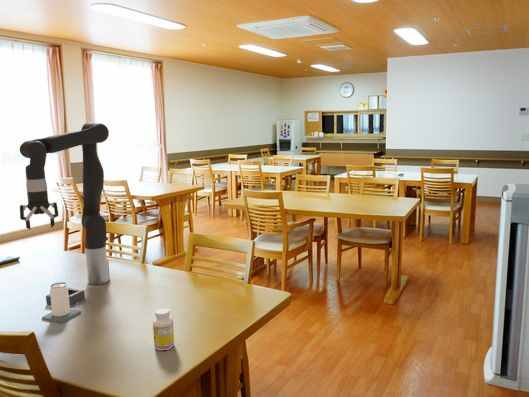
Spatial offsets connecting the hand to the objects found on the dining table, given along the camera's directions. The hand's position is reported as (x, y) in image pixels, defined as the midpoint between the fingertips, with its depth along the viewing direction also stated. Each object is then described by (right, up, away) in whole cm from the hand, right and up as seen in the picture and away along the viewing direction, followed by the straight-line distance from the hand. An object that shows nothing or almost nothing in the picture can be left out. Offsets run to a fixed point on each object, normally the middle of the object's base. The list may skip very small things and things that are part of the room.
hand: (40, 228), depth 193 cm
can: (+13, -33, -11) cm, 37 cm away
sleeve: (+9, -32, +4) cm, 33 cm away
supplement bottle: (+60, -38, -37) cm, 80 cm away
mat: (+13, -34, -11) cm, 38 cm away
